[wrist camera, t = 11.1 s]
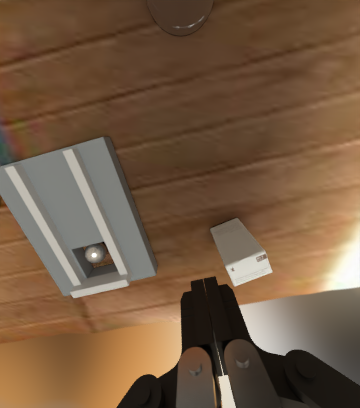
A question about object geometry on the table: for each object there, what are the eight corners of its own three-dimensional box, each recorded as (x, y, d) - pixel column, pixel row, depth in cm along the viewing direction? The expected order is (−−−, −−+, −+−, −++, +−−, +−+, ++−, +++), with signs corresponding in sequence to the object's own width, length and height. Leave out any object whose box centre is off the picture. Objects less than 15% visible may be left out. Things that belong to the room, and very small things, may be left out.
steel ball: (91, 244, 39) (78, 244, 35) (109, 239, 38) (98, 239, 35) (93, 264, 38) (81, 266, 34) (112, 259, 37) (101, 260, 34)
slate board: (2, 168, 32) (-35, 174, 27) (109, 136, 31) (94, 136, 25) (71, 285, 41) (55, 308, 36) (157, 265, 40) (154, 286, 34)
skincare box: (216, 244, 38) (233, 290, 27) (208, 227, 37) (222, 267, 26) (244, 233, 38) (274, 275, 26) (237, 214, 36) (265, 251, 25)
